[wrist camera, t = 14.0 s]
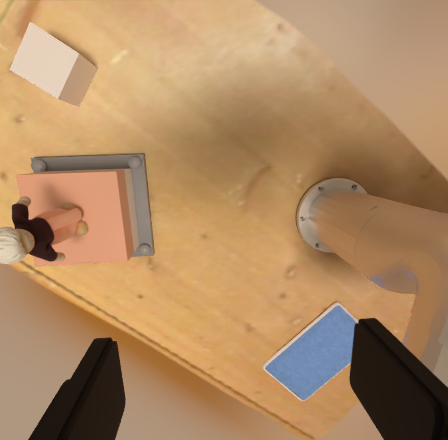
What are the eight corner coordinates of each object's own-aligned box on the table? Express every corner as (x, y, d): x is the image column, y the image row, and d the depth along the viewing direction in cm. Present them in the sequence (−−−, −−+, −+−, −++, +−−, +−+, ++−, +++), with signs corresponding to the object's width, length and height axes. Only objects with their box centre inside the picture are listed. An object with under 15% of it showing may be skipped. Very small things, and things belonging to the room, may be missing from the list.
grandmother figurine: (102, 232, 36) (48, 273, 23) (78, 248, 36) (13, 297, 24) (61, 183, 34) (-20, 200, 21) (37, 200, 34) (-57, 226, 22)
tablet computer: (301, 398, 55) (303, 404, 54) (259, 363, 53) (260, 369, 51) (374, 337, 53) (379, 341, 52) (335, 297, 50) (338, 301, 49)
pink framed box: (144, 154, 41) (130, 154, 33) (154, 253, 45) (144, 274, 37) (35, 157, 40) (-6, 158, 33) (54, 258, 44) (22, 281, 36)
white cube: (57, 42, 37) (30, 21, 31) (98, 68, 38) (79, 53, 32) (39, 82, 38) (9, 69, 32) (79, 107, 39) (57, 98, 33)
